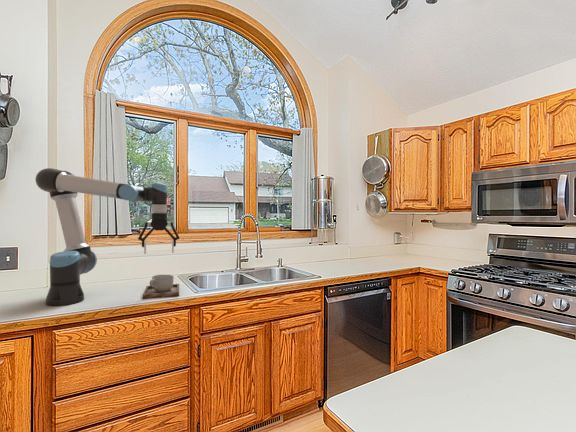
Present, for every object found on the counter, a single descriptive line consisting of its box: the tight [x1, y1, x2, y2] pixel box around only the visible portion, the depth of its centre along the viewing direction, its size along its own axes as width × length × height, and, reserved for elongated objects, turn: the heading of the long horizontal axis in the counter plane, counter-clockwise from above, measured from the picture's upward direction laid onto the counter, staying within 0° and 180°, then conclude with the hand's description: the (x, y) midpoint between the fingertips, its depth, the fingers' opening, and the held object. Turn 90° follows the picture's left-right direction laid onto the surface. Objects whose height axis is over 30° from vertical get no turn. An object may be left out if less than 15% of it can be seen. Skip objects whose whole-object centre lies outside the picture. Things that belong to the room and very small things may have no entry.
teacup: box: [149, 274, 175, 292], centre depth 172 cm, size 14×11×8 cm
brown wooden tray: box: [142, 283, 180, 300], centre depth 172 cm, size 17×20×2 cm
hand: (159, 253), depth 172 cm, fingers open, 13 cm apart
